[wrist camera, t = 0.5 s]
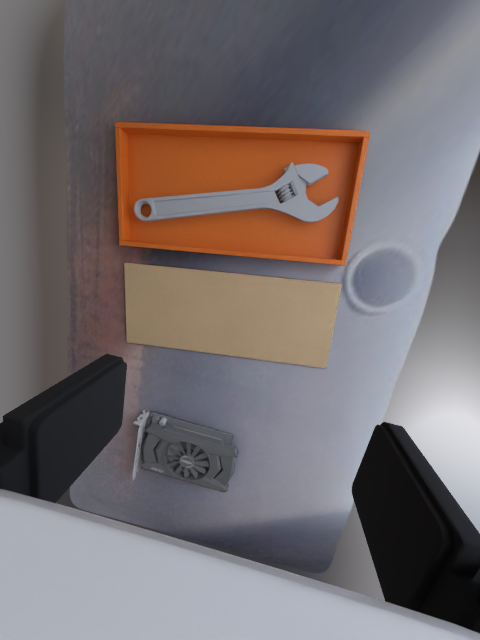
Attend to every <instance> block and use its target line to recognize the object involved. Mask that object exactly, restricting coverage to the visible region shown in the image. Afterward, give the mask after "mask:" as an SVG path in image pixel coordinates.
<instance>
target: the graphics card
mask: <svg viewBox="0 0 480 640" xmlns="http://www.w3.org/2000/svg"><path fill="white" fill-rule="evenodd" d="M145 411H146V410H143V411H142V413H143V414H140V415H139V417H138V418H137V420H138V421H135V422H134V423H133V424H136V425H139V430H138V437H137V445H136V452H135V459H134V467H133V474H132V479H133V480H134V479H135V477H136V473H137V471H138V472H139V470H140V469H141V467H142V468H143V469H146V470H150V471H153V472H156V473H160V474H163V475H166V476H170V477H173V478H177V479H180V480H183V481H187V482H190V483H193V484H197V485H200V486H204V487H207V488H210V489H214V490H217V491H220V492H226V491H228V487H229V484H228V481H229V479H230V478H231V476H232V475H233V473H234V457H237V455H238V450H237V448H236V447H235V446H232V445H231V442H232V438H233V435H231V434H228V433H224V432H221V431H217V430H214V429H210V428H207V427H203V426H200V425H196V424H193V423H189V422H185V421H182V420H178V419H175V418H171V417H168V416H164V415H161V414H157V413H154V412H151V413H149V412H150V411H148V412H147V413H145ZM141 417H142V419H140V418H141ZM138 442H139V443H138ZM139 444H140V446H139V447H138V445H139ZM137 452H138V453H137ZM137 459H138V460H137ZM136 461H137V462H136ZM135 463H136V464H135Z"/></svg>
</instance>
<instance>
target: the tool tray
mask: <svg viewBox="0 0 480 640" xmlns="http://www.w3.org/2000/svg"><path fill="white" fill-rule="evenodd" d="M115 127H116V128H115V137H116V165H117V193H118V221H119V240H120V241H119V245H122V246H133V247H144V248H156V249H167V250H178V251H189V252H200V253H211V254H222V255H233V256H244V257H255V258H266V259H277V260H288V261H300V262H311V263H322V264H333V265H344V266H345V265H346V260H347V254H348V249H349V244H350V238H351V233H352V227H353V222H354V217H355V211H356V206H357V201H358V195H359V190H360V184H361V179H362V174H363V168H364V163H365V157H366V152H367V147H368V141H369V136H370V131H354V130H327V129H300V128H273V127H246V126H219V125H192V124H165V123H138V122H115ZM292 162H293V164H294V166H296V165H300V164H308V163H310V164H317V165H320V166H323V167H325V168H327V169H328V172H329V173H328V175H327V176H326V177H324V178H322V179H321V180H319V181H317V182H315V183H313V184H311V185H310V186H308V185H307V186H306V191H305V193H306V195H307V198H308V200H310V201H311V202H313V203H314V204H316V205H317V206H321V205H323V204H325V203H327V202H329V201H331V200H333V199H334V198H336V197H338V199H339V200H338V203H337V205H336V207H335V209H334V210H333V211H332V212H331V213H330V214H329V215H328V216H326V217H325V218H323V219H322V220H320V221H317V222H313V223H307V222H302V221H300V220H298V219H295V218H293V217H291V216H289V215H286V214H284V213H281V212H278V211H274V210H269V209H258V210H249V211H240V212H231V213H222V214H213V215H204V216H195V217H187V218H178V219H169V220H160V221H151V222H149V221H143V220H140V219H139V218H138V217H137V216H136V215H135V212H134V206H135V203H136V202H137V201H138V200H140V199H145V198H157V197H168V196H179V195H190V194H202V193H213V192H224V191H235V190H246V189H258V188H263V187H267V186H269V185H272V184H273V183H275V182H276V181H277V180H278V179H280V178H281V177H282V176H283V175H284V173H285V172H283V169H284V168H286V167H288V166H290V164H291V163H292ZM289 189H290V187H289ZM278 192H279V191H278ZM278 192H276V196H277V198H278V200H279V202H280V204H281V203H282V202H283V201H280V199H281V198H279V196H280V195H278ZM290 192H291V190H290ZM292 195H293V194H292ZM151 212H152V209H151V206H150V205H149V204H143V205H142V207H141V214H142V215H143V216H144V217H149V216H150V215H151Z"/></svg>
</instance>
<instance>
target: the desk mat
mask: <svg viewBox="0 0 480 640" xmlns="http://www.w3.org/2000/svg"><path fill="white" fill-rule="evenodd" d="M124 270H125V301H126V333H127V342H130V343H137V344H145V345H152V346H160V347H168V348H175V349H183V350H190V351H198V352H205V353H213V354H221V355H228V356H236V357H243V358H251V359H259V360H266V361H274V362H281V363H289V364H297V365H304V366H312V367H319V368H326V367H327V361H328V356H329V351H330V345H331V340H332V334H333V329H334V324H335V318H336V313H337V307H338V302H339V297H340V291H341V286H342V284H339V283H328V282H318V281H308V280H298V279H287V278H277V277H267V276H257V275H246V274H236V273H226V272H216V271H205V270H195V269H185V268H175V267H164V266H154V265H144V264H134V263H124Z"/></svg>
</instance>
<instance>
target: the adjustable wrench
mask: <svg viewBox="0 0 480 640" xmlns="http://www.w3.org/2000/svg"><path fill="white" fill-rule="evenodd" d="M283 172H285V173H284V175H283V176H282V177H281V178H280V179H278V180H277V181H276V182H275V183H273V184H272V185H269V186H267V187H263V188H258V189H246V190H235V191H224V192H213V193H202V194H190V195H179V196H168V197H157V198H145V199H140V200H138V201H137V202H136V203H135V206H134V212H135V215H136V216H137V217H138V218H139V219H140V220H143V221H149V222H151V221H160V220H169V219H178V218H187V217H195V216H204V215H213V214H222V213H231V212H240V211H249V210H258V209H269V210H274V211H278V212H281V213H284V214H286V215H289V216H291V217H293V218H295V219H298V220H300V221H302V222H307V223H313V222H317V221H320V220H322V219H323V218H325V217H326V216H328V215H329V214H330V213H331V212H332V211H333V210H334V209H335V207H336V205H337V203H338V200H339V199H338V197H336V198H334V199H333V200H331V201H329V202H327V203H325V204H323V205H321V206H317V205H316V204H314V203H313V202H311V201H310V200H308V198H307V195H306V193H305V191H306V186H307V185H308V186H310V185H311V184H313V183H315V182H317V181H319V180H321V179H322V178H324V177H326V176H327V175H328V173H329V172H328V169H327V168H325V167H323V166H320V165H317V164H310V163H308V164H300V165H296V166H294V164H293V162H292V163H291V164H290V166H288V167H286V168H284V169H283ZM289 187H290V189H289ZM290 190H291V192H290ZM278 191H279V192H278ZM276 192H278V195H280V196H279V198H281V199H280V201H283V202H282V203H281V204H280V202H279V200H278V198H277V196H276ZM292 194H293V195H292ZM143 204H149V205H150V206H151V209H152V212H151V215H150V216H149V217H144V216H143V215H142V214H141V207H142V205H143Z"/></svg>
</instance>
